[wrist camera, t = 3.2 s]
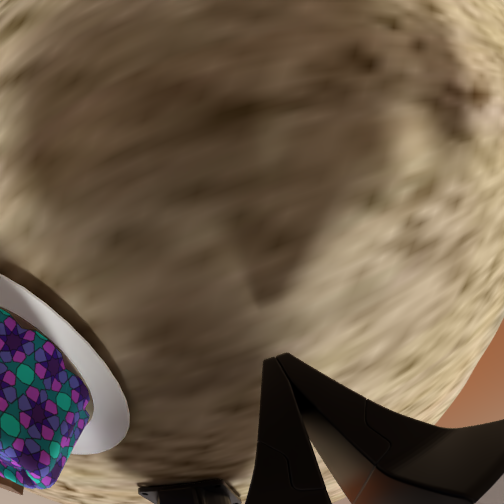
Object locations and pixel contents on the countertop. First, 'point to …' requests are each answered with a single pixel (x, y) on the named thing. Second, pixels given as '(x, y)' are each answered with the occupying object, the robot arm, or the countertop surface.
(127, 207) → the countertop surface
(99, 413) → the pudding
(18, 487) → the bay
